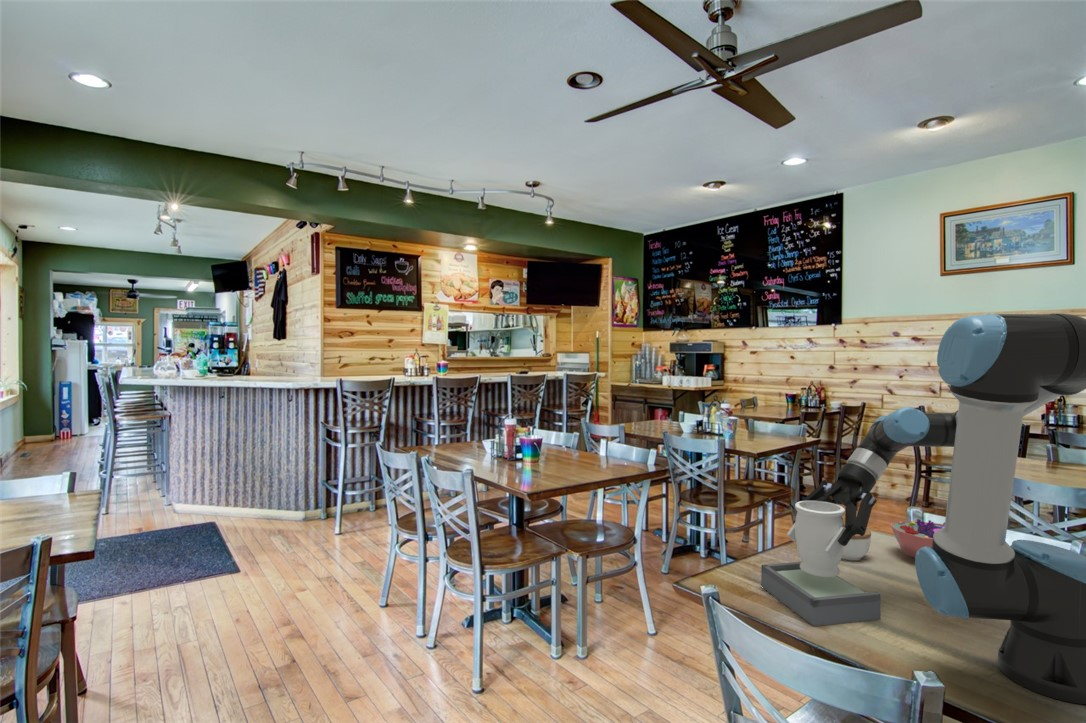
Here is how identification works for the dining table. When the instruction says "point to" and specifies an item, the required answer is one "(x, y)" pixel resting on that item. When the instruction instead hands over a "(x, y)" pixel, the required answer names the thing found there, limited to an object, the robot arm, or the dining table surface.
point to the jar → (818, 536)
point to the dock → (819, 595)
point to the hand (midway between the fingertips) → (809, 546)
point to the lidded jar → (857, 546)
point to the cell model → (915, 534)
